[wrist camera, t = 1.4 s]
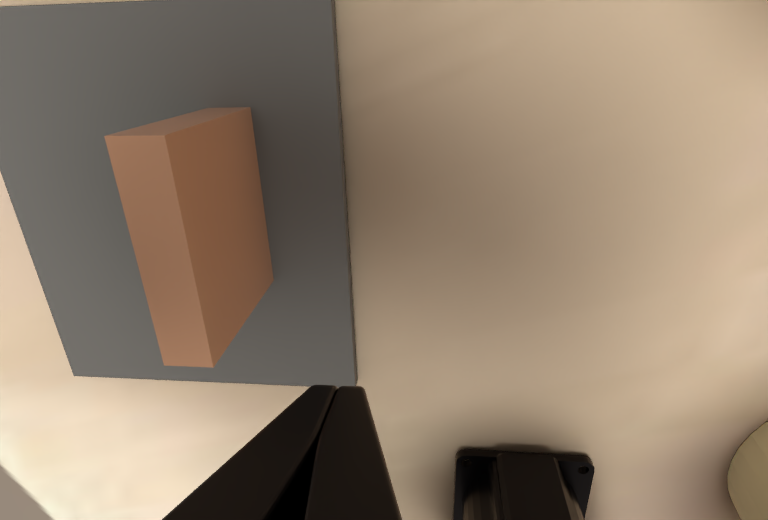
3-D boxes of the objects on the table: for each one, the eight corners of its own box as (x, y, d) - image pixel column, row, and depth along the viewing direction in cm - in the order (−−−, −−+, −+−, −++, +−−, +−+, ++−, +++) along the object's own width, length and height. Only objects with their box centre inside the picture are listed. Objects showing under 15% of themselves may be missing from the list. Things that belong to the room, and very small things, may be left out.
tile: (273, 280, 20) (213, 367, 15) (235, 279, 20) (162, 365, 15) (250, 107, 17) (164, 135, 12) (206, 107, 17) (101, 136, 12)
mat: (357, 380, 23) (355, 388, 22) (82, 368, 24) (73, 375, 23) (334, -6, 16) (330, -7, 15) (-43, 10, 17) (-58, 8, 17)
